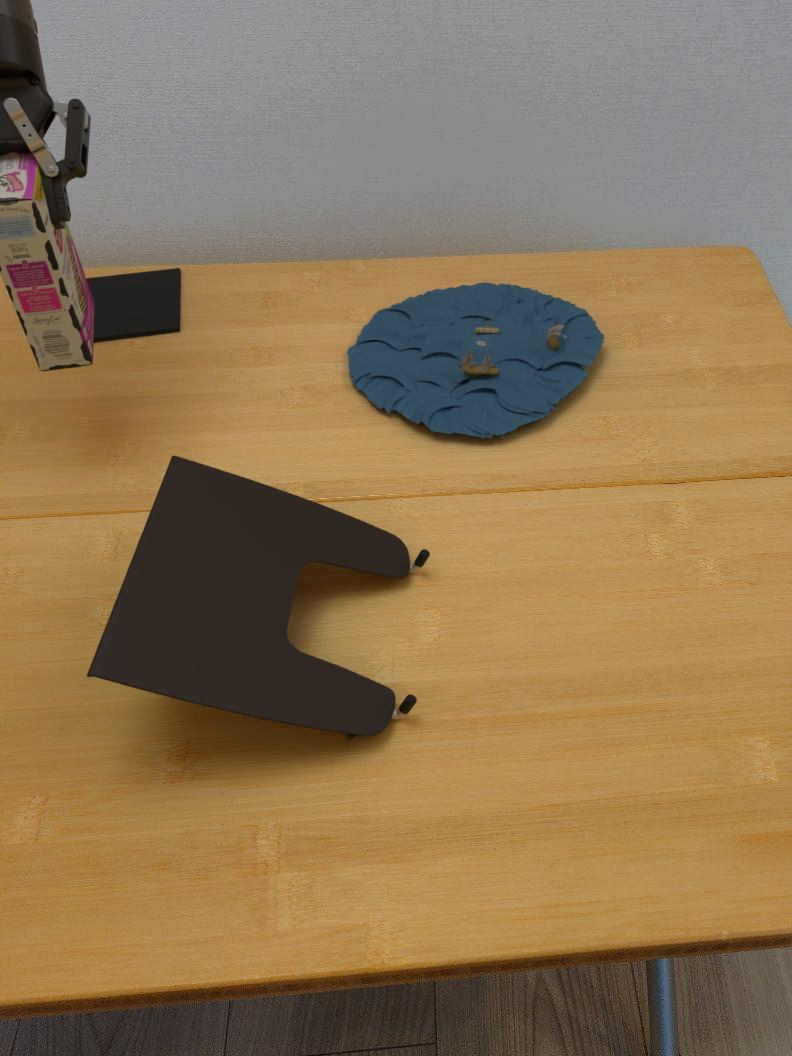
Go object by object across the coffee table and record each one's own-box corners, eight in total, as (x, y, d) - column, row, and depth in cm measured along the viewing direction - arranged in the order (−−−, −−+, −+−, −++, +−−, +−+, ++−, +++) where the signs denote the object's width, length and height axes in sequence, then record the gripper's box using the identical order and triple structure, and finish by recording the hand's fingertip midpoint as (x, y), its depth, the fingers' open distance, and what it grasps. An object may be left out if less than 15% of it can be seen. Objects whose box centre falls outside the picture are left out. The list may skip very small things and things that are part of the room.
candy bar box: (97, 366, 88) (34, 198, 77) (40, 374, 87) (-33, 205, 75) (99, 303, 96) (41, 141, 84) (45, 310, 95) (-20, 147, 83)
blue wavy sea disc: (348, 464, 98) (338, 425, 94) (350, 304, 118) (343, 267, 115) (629, 435, 100) (631, 395, 96) (584, 282, 120) (584, 245, 117)
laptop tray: (371, 796, 77) (413, 741, 71) (71, 727, 69) (91, 658, 63) (396, 583, 93) (433, 524, 87) (155, 507, 85) (178, 436, 79)
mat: (72, 344, 110) (71, 340, 110) (82, 283, 119) (80, 278, 119) (180, 331, 112) (178, 327, 112) (181, 271, 122) (179, 267, 121)
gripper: (-127, 12, 76) (-88, 224, 77) (64, 2, 79) (100, 206, 79) (-84, 58, 83) (-49, 251, 84) (89, 48, 86) (121, 234, 87)
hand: (23, 228), depth 82 cm, fingers closed on candy bar box, 5 cm apart
